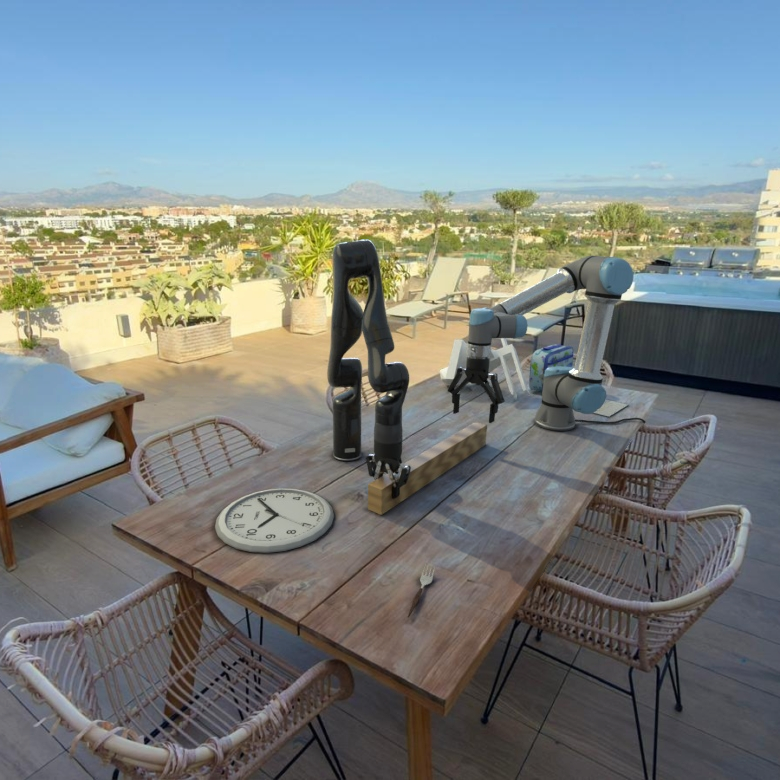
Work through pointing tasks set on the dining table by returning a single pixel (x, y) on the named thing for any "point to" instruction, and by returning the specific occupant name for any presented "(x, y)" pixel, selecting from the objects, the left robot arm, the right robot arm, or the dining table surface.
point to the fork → (424, 581)
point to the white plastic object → (496, 359)
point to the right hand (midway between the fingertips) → (473, 417)
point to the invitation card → (610, 408)
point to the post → (427, 467)
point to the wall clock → (274, 520)
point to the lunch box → (548, 363)
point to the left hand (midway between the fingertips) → (387, 494)
